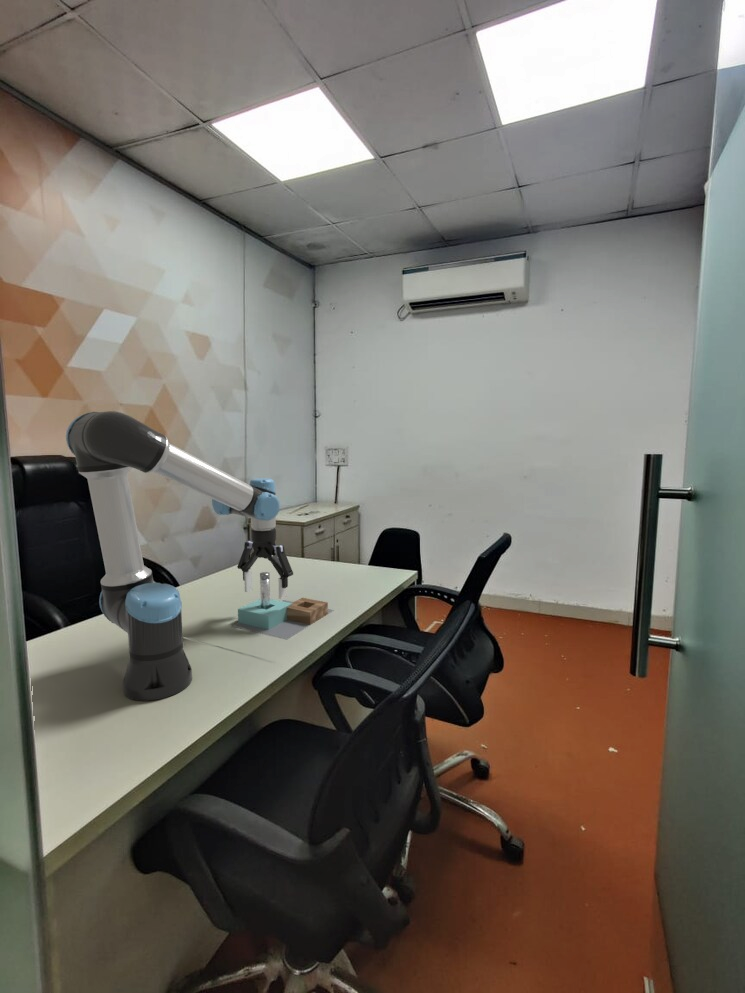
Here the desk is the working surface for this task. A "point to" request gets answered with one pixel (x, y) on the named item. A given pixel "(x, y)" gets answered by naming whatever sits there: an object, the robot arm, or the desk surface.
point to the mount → (307, 611)
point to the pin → (265, 590)
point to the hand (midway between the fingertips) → (265, 594)
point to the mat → (278, 628)
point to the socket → (263, 614)
